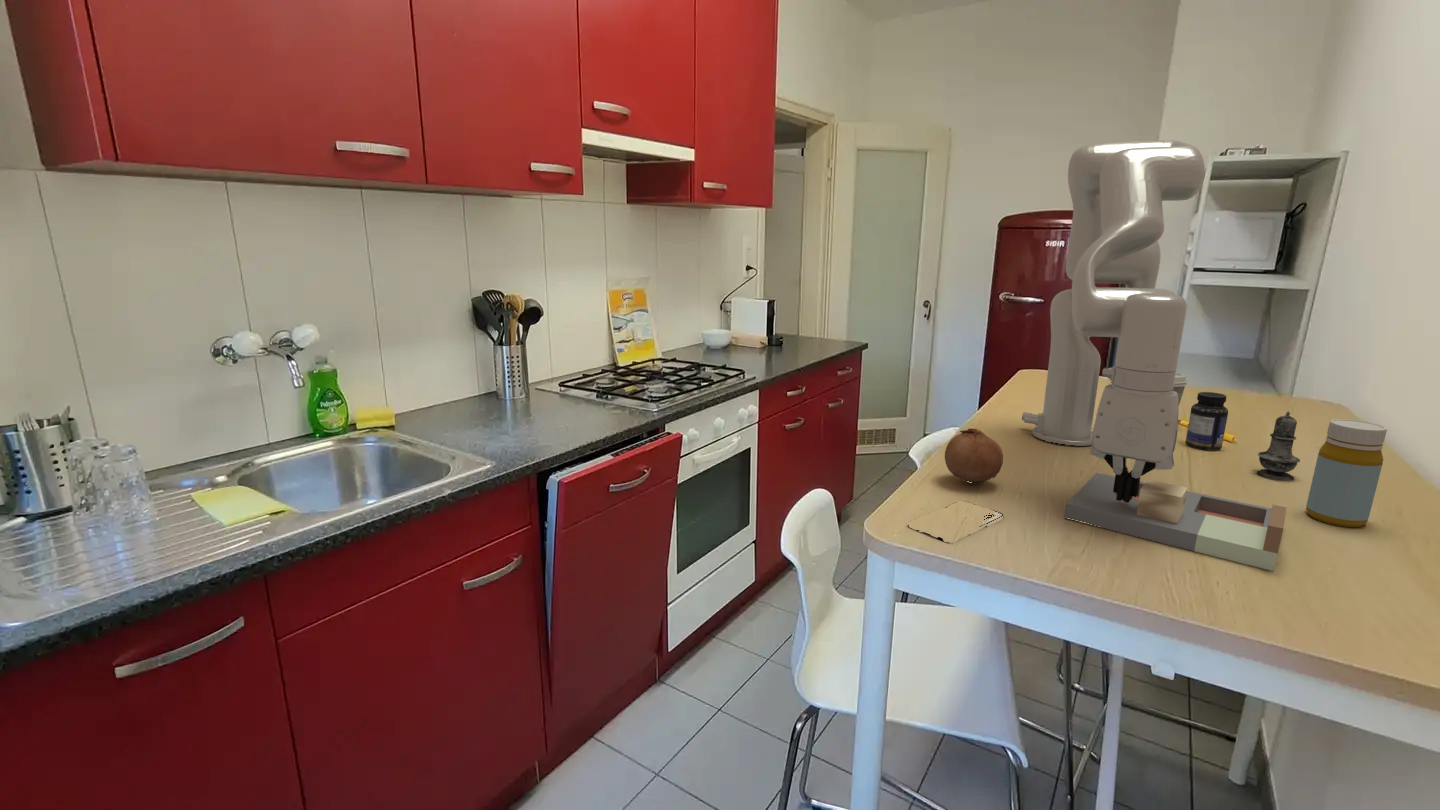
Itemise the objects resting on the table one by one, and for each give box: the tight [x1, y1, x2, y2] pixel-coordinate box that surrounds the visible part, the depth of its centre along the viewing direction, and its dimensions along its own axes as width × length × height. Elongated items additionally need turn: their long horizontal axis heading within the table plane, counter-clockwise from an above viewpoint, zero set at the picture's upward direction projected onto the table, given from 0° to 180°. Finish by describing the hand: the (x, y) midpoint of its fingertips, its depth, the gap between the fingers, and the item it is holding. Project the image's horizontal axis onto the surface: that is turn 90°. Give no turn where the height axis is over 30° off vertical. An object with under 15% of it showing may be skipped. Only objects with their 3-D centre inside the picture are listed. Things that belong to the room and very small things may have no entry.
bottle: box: [1305, 418, 1388, 528], centre depth 99 cm, size 7×7×15 cm
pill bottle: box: [1185, 391, 1229, 451], centre depth 134 cm, size 6×6×11 cm
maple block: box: [1137, 479, 1188, 524], centre depth 97 cm, size 5×5×4 cm
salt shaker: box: [1255, 410, 1301, 482], centre depth 118 cm, size 6×6×12 cm
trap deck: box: [1064, 472, 1287, 572], centre depth 99 cm, size 25×18×6 cm
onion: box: [944, 427, 1004, 484], centre depth 115 cm, size 10×9×10 cm
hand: (1124, 498), depth 100 cm, fingers closed
